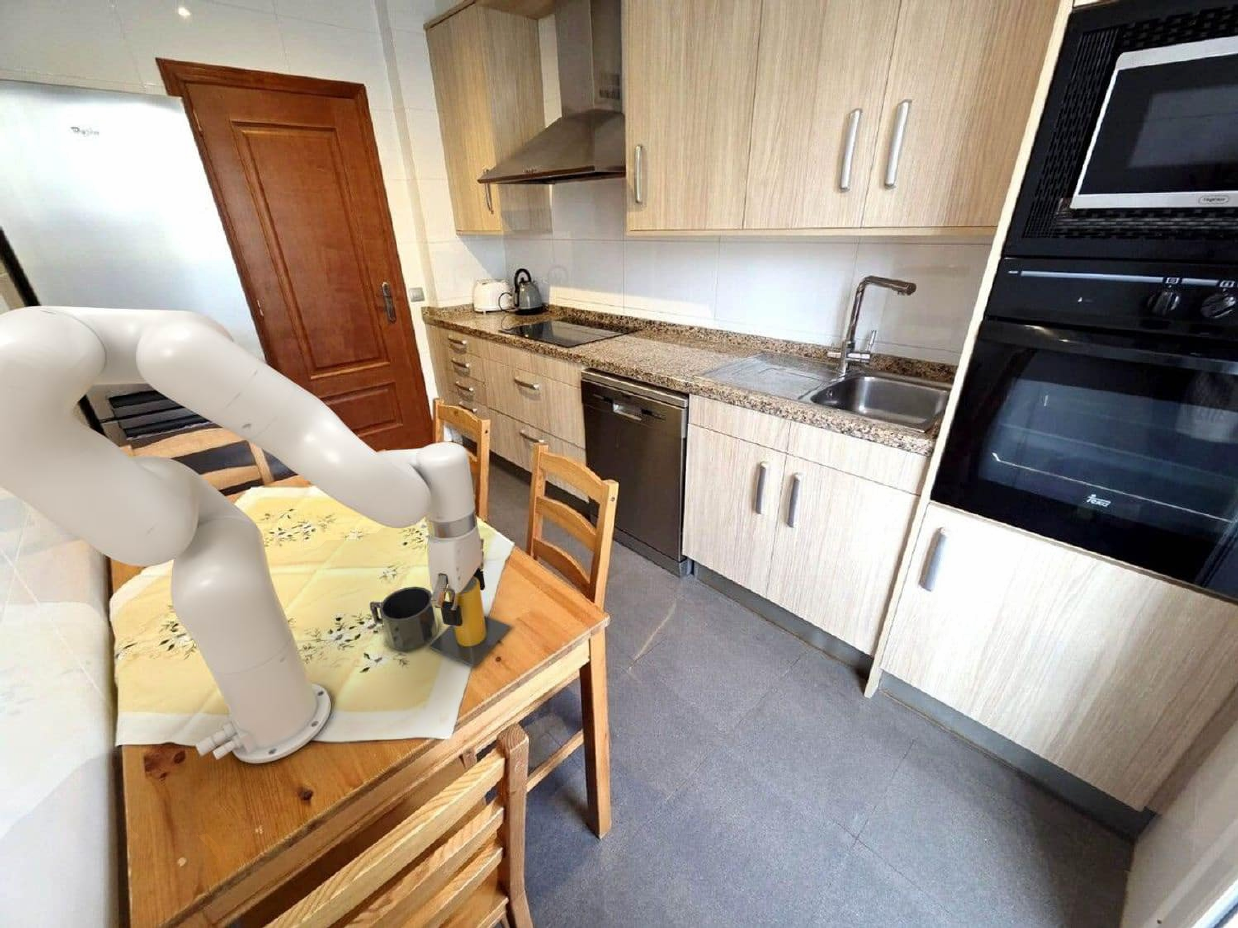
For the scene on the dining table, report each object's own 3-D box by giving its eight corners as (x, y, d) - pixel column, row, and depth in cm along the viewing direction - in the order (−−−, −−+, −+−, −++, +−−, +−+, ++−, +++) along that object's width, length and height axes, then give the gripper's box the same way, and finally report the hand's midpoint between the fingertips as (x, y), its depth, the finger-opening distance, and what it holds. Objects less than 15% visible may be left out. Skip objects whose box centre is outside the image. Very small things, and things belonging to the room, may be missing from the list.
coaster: (475, 668, 84) (474, 665, 84) (429, 648, 88) (428, 645, 87) (510, 628, 92) (510, 625, 92) (467, 611, 96) (467, 609, 96)
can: (467, 651, 86) (458, 598, 81) (450, 636, 89) (440, 584, 84) (492, 634, 90) (485, 582, 85) (474, 620, 93) (467, 569, 88)
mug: (446, 619, 94) (441, 589, 91) (423, 654, 86) (416, 623, 83) (390, 611, 96) (382, 582, 93) (361, 645, 88) (353, 614, 85)
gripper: (455, 491, 87) (467, 571, 95) (399, 549, 72) (418, 639, 79) (496, 495, 86) (504, 576, 94) (448, 555, 71) (463, 646, 78)
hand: (465, 605), depth 86 cm, fingers open, 8 cm apart
